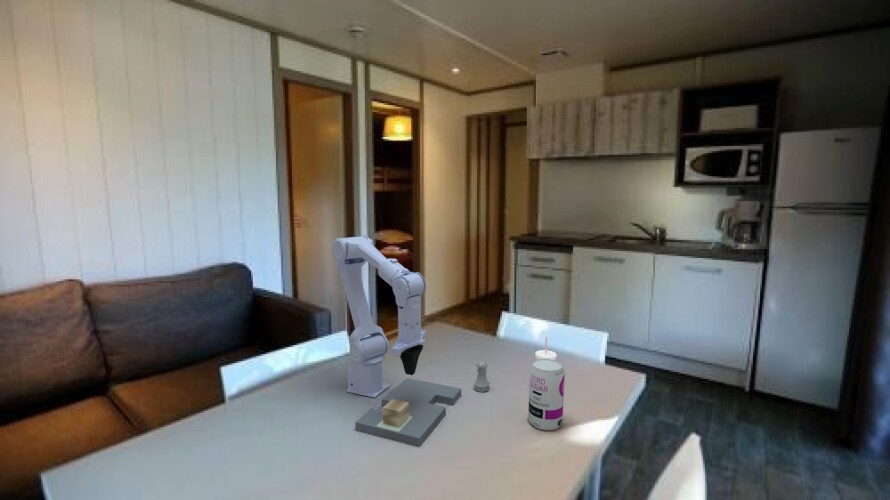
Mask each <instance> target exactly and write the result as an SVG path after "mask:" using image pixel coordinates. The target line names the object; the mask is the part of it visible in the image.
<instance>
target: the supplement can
mask: <svg viewBox="0 0 890 500" xmlns="http://www.w3.org/2000/svg"><path fill="white" fill-rule="evenodd" d="M565 373H566V372H565V369H564V367H563V364H562V363H561V362H559V361H557V360H556V359H555V360H550V359H539V360H534V361H533V362H532V364H531V366H530V368H529V379H528V381H529V382H528V383H529V384H528V413H527V414H528V415H527V419H528V421H529V423H530V424H531V425H532V426H533V427H535V428H536V429H538V430H543V431H549V432H550V431H555V430H557V429H559V428H560V427H561V426H562V425H563V423H564V422H563V420H564V399H565V398H564V397H565V396H564V395H565V377H566V376H565Z"/></svg>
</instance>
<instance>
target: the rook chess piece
mask: <svg viewBox="0 0 890 500" xmlns="http://www.w3.org/2000/svg"><path fill="white" fill-rule="evenodd" d="M475 366H476V368H477V369H476V371H477V375H476V379H475V381H474V386H473V389H474V390H475V391H476V392H479V393H485V392H488V391H489V389H490V383H489V380H488V377H487V368H488V364H487V361H486V360H478V361H477V363H476V364H475Z"/></svg>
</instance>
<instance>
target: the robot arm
mask: <svg viewBox="0 0 890 500" xmlns="http://www.w3.org/2000/svg"><path fill="white" fill-rule="evenodd" d="M331 252H332V255H333V257H332V258H333V260H334V264H335V267H336V270H338V271H339V273H340V278H341V281H342V285H343V288H344V293H345V295H346V300H347V304H348V307H349V312H350V314H351V318H352V321H353V326H354V330H353V331H352V332H351V334H350V335H349V337H348V343H349V356H350V357H351V359H350V361H349V363H348V366H347V385H348V386H347V389H346V392H347V393H352V394H356V395H361V396H364V397H370V398H373V399H375V398H377V397H378V396H379V395H380V394H381V393H383V392H384V391H385V390H386V389H387V388H389V387H390V384H389V383H384V366H383V365H384V364H383V362H384V361H383V360H384V359H385V358H386V356H385V355H387V354H388V352H389V349H390V347H389V343H390V342H389V340H388V338H387V337H386V335H385V333H384V331H383V328H382V327H381V326H378V325H377V324H375V323H374V321H373V317H372V313H371V310H370V306H369V304H368V303H369V302H368V299H367V296H366V292H365V288H364V285H363V280H362V278H361V274H360V270H361V267H364V265H365V264H366V263H368V264H370V265H371V266H373V267H374V268H375V269H377V272H378V273H377V274H378V276H379V278H381V279H382V280H384V282H386V283H387V284H389V286H391V287H392V292H393V295H394V297H395V303H396V305H397V333H398V335H397V336H398V338H397V340H396V341H395V344H394V345H393V346H392V347H391V356H393V357H399V358H400V360H401V363H402V366H403V370H404V373H405V374H406V375H411V376H413V375H414V374H415V373H416V370H417V366H418V362H419V359H420V355H421V353H422V351H423V349H424V344H425V343H426V338H427V330H425V329H422V295H424V294H425V293H426V290H427V283H426V279H425V277H424V275H422V274H421V273H420V272H419V271H418V272H417V271H416V272H413V271H410V270H409V269H408V268H405V267H404V266H403V265H402V264H401V263H400V262H398V259H396V258H387V257H386V256H384V255H383V254H382V253H381V252H380V251H379V250H378V249H377V247H375V246H374V241H373V239H371V238H369V236H368V235H362V236H351V237H337V238H336V239H335V240H334V241H333V244H332V249H331ZM366 336H367V337H366Z"/></svg>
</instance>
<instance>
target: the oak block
mask: <svg viewBox="0 0 890 500" xmlns="http://www.w3.org/2000/svg"><path fill="white" fill-rule="evenodd" d="M382 411H383V424H387V425H391V426H395V427H399V428H400V427H401V426H402V425H403V424H404V423H405V422H406V421H407V420H408V419H409V403H408V402H404V401H399V400H394V399H392V400H391V401H390V402H389V403H387V404H386V405H385V406H384V407H382Z"/></svg>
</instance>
